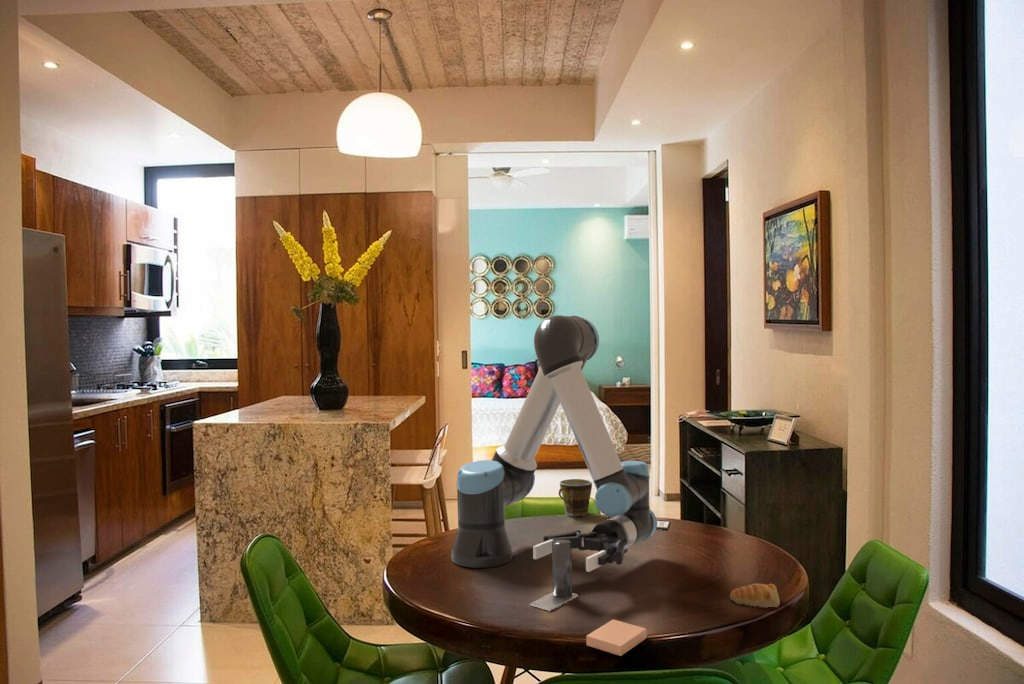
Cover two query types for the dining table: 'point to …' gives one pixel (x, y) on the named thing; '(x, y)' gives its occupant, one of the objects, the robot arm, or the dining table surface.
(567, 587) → the metal post on base
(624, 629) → the tile
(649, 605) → the dining table surface
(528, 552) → the dining table surface
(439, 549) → the dining table surface
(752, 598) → the pastry
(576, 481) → the ceramic cup
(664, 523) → the chocolate bar
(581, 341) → the robot arm
